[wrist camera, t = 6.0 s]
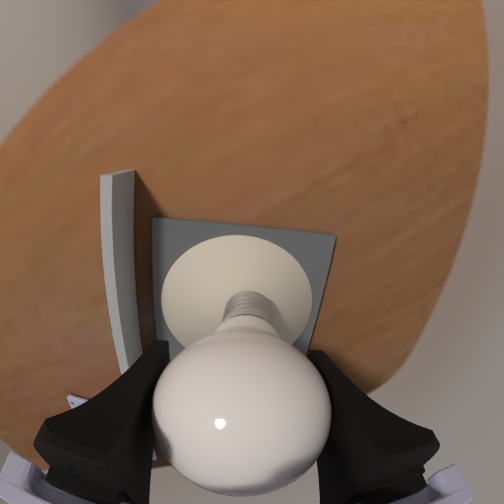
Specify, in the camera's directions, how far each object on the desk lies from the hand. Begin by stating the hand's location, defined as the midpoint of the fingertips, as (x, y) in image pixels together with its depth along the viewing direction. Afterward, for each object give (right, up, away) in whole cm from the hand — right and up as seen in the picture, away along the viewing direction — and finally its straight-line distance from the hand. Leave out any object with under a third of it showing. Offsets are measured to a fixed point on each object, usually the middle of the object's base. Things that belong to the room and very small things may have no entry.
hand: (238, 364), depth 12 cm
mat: (0, +2, +5) cm, 5 cm away
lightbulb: (0, +2, +4) cm, 5 cm away
